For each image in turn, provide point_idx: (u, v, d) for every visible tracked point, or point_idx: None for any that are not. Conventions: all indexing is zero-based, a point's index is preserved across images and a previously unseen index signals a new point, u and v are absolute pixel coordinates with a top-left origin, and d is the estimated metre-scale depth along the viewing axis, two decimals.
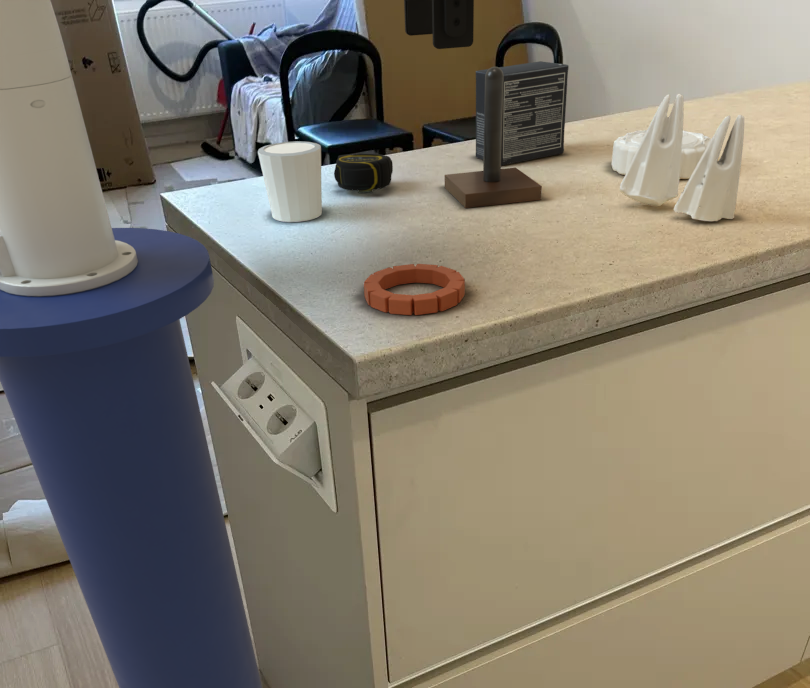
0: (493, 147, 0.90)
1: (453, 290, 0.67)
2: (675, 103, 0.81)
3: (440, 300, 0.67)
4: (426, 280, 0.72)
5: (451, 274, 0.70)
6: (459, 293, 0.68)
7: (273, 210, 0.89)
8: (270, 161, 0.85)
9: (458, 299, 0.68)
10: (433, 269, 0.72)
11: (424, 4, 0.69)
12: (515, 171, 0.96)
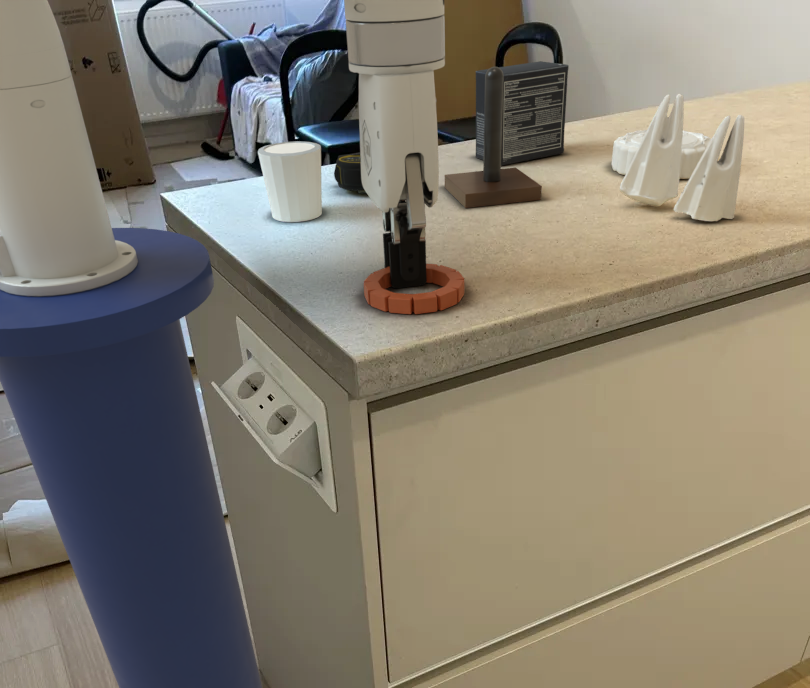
0: (493, 147, 0.90)
1: (452, 289, 0.68)
2: (675, 103, 0.81)
3: (440, 299, 0.67)
4: None
5: (451, 273, 0.70)
6: (459, 292, 0.68)
7: (273, 210, 0.89)
8: (270, 161, 0.85)
9: (458, 298, 0.68)
10: (432, 268, 0.72)
11: None
12: (515, 171, 0.96)
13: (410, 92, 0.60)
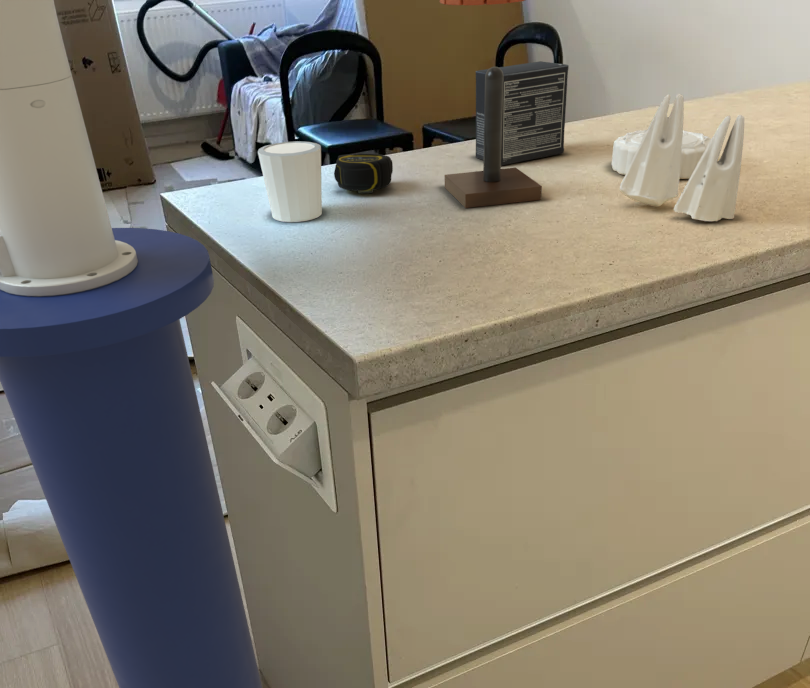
0: (493, 147, 0.90)
1: None
2: (675, 103, 0.81)
3: None
4: None
5: None
6: None
7: (273, 210, 0.89)
8: (270, 161, 0.85)
9: None
10: None
11: None
12: (515, 171, 0.96)
13: None
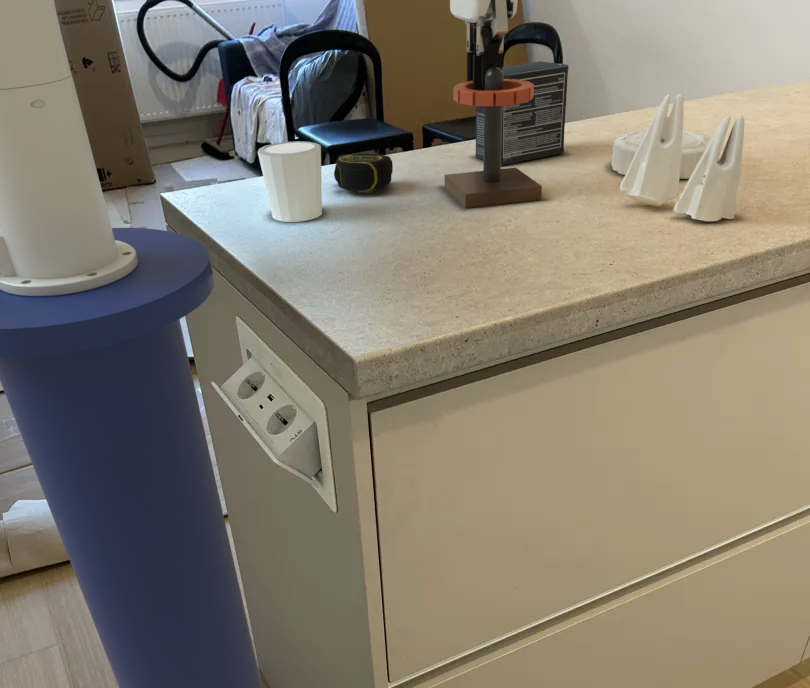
0: (493, 147, 0.90)
1: (525, 88, 0.86)
2: (675, 103, 0.81)
3: (516, 94, 0.85)
4: None
5: (522, 82, 0.88)
6: (530, 92, 0.86)
7: (273, 210, 0.89)
8: (270, 161, 0.85)
9: (529, 97, 0.86)
10: (507, 80, 0.90)
11: None
12: (515, 171, 0.96)
13: None
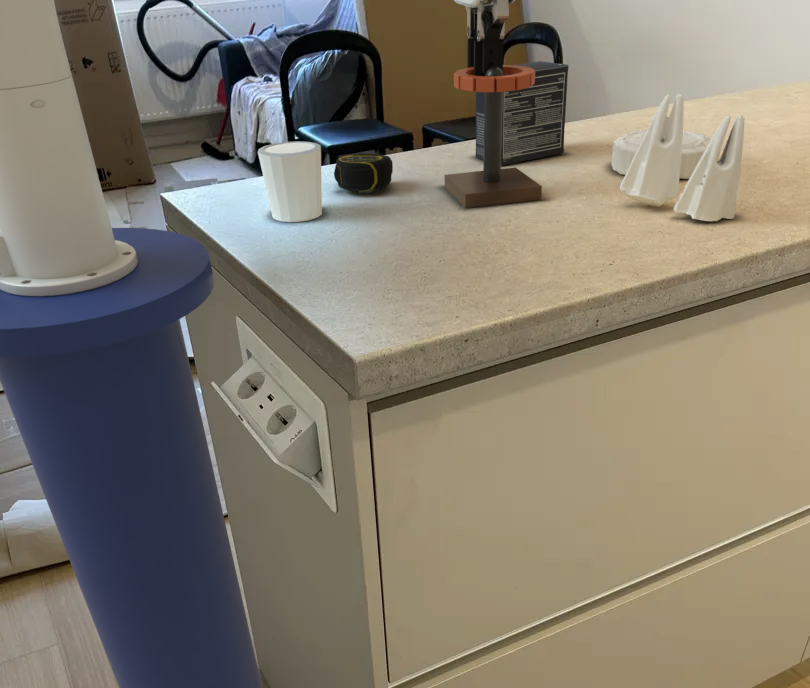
0: (493, 147, 0.90)
1: (527, 73, 0.85)
2: (675, 103, 0.81)
3: (517, 79, 0.84)
4: None
5: (523, 68, 0.88)
6: (531, 77, 0.85)
7: (273, 210, 0.89)
8: (270, 161, 0.85)
9: (530, 83, 0.85)
10: (508, 66, 0.89)
11: None
12: (515, 171, 0.96)
13: None
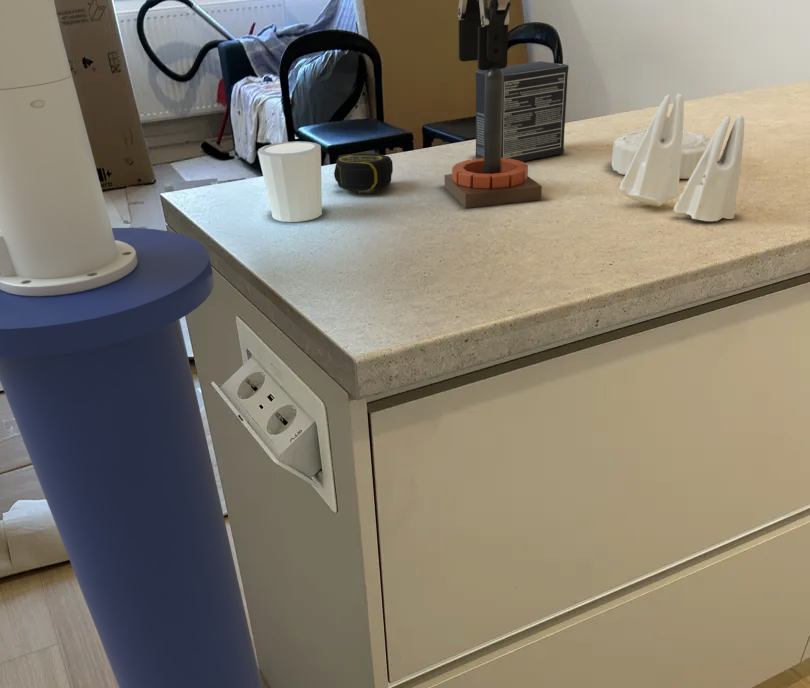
0: (493, 147, 0.90)
1: (520, 170, 0.91)
2: (675, 103, 0.81)
3: (511, 177, 0.90)
4: None
5: (517, 162, 0.94)
6: (524, 174, 0.92)
7: (273, 210, 0.89)
8: (270, 161, 0.85)
9: (523, 178, 0.92)
10: (502, 160, 0.95)
11: (474, 38, 0.91)
12: None
13: None
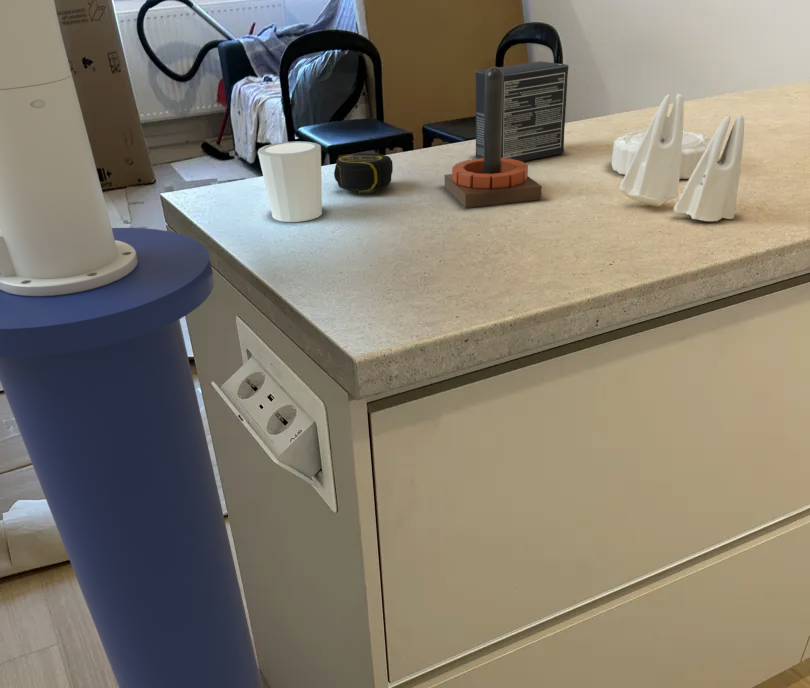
0: (493, 147, 0.90)
1: (520, 170, 0.91)
2: (675, 103, 0.81)
3: (511, 177, 0.90)
4: None
5: (517, 162, 0.94)
6: (524, 174, 0.92)
7: (273, 210, 0.89)
8: (270, 161, 0.85)
9: (523, 178, 0.92)
10: (502, 160, 0.95)
11: None
12: None
13: None
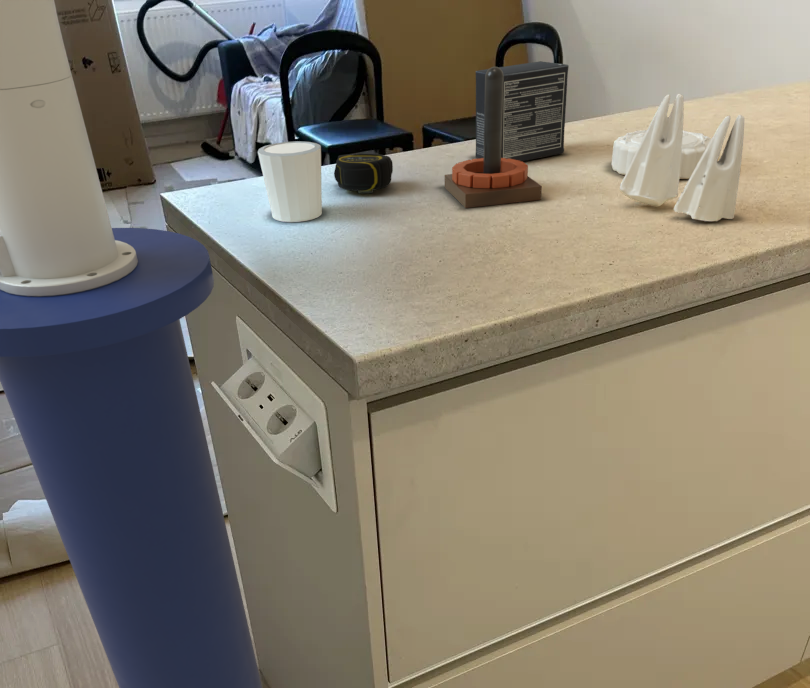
0: (493, 147, 0.90)
1: (520, 170, 0.91)
2: (675, 103, 0.81)
3: (511, 177, 0.90)
4: None
5: (517, 162, 0.94)
6: (524, 174, 0.92)
7: (273, 210, 0.89)
8: (270, 161, 0.85)
9: (523, 178, 0.92)
10: (502, 160, 0.95)
11: None
12: None
13: None
